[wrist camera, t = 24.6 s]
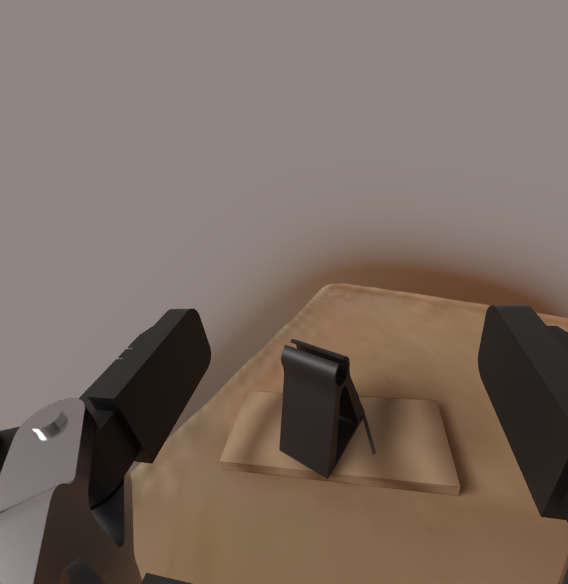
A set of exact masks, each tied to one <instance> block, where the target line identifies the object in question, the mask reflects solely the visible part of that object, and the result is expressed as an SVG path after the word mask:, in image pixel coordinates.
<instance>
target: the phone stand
mask: <svg viewBox="0 0 568 584" xmlns="http://www.w3.org/2000/svg"><path fill="white" fill-rule="evenodd" d="M291 343H294V344H296V345H297V349H296V348H293V347H290V346H287V345H285V347H284V349H283V352H282V356H281V362H282V365H283V368H284V386H283V401H282V416H281V431H280V445H279V450H280V451H281V452H283V453H285V454H286V455H288V456H290V457H291V458H293V459H295V460H296V461H298V462H300V463H301V464H303V465H305V466H306V467H308V468H310V469H311V470H313V471H315V472H316V473H318V474H320V475H321V476H323V477H325V478H326V479H328V478H329V477H330V475H331V473H332V472H333V470H334V468H335V466H336V465H337V463H338V461H339V459H340V458H341V456H342V454H343V452H344V451H345V449H346V447H347V444H349V442H350V440H351V439H352V437H353V435H354V433H355V432H356V430H357V428H358V426H359V425H360V423H361V421H362V419H363V418H364V415H365V411H364V409H363V406H362V404H361V402H360V399H359V397H358V394H357V392H356V389H355V387H354V384H353V382H352V379H351V377H350V371H349V365H350V363H349V358H348V357H346V356H343V355H340V354H337V353H334V352H331V351H328V350H325V349H322V348H319V347H316V346H313V345H310V344H307V343H304V342H301V341H298V340H295V339H291Z"/></svg>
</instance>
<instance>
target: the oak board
mask: <svg viewBox="0 0 568 584" xmlns="http://www.w3.org/2000/svg"><path fill="white" fill-rule="evenodd" d="M359 399H360V402H361V404H362V406H363V409H364V411H365V415H364V418H363V419H362V421H361V423H360V425H359V426H358V428H357V430H356V432H355V433H354V435H353V437H352V439H351V440H350V442H349V444H347V447H346V449H345V451H344V452H343V454H342V456H341V458H340V459H339V461H338V463H337V465H336V466H335V468H334V470H333V472H332V473H331V475H330V477H329V478H328V479H326V478H325V477H323V476H321V475H320V474H318V473H316V472H315V471H313V470H311V469H310V468H308V467H306V466H305V465H303V464H301V463H300V462H298V461H296V460H295V459H293V458H291V457H290V456H288V455H286V454H285V453H283V452H281V451H280V450H279V445H280V431H281V416H282V401H283V393H268V392H247V391H246V394H245V396H244V399H243V401H242V404H241V407H240V409H239V412H238V414H237V417H236V420H235V422H234V425H233V428H232V430H231V433H230V435H229V438H228V441H227V443H226V446H225V448H224V451H223V454H222V456H221V459H220V463H221V466H222V468H223V469H225V470H234V471H243V472H252V473H261V474H270V475H279V476H288V477H297V478H305V479H314V480H323V481H332V482H341V483H350V484H359V485H368V486H377V487H385V488H394V489H403V490H412V491H421V492H430V493H439V494H448V495H457V496H459V491H460V483H459V479H458V476H457V472H456V469H455V465H454V461H453V458H452V454H451V450H450V447H449V443H448V439H447V436H446V432H445V428H444V425H443V421H442V418H441V414H440V410H439V407H438V403H437V401H436V400H415V399H394V398H373V397H359Z"/></svg>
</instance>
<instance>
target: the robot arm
mask: <svg viewBox="0 0 568 584" xmlns="http://www.w3.org/2000/svg"><path fill="white" fill-rule="evenodd" d="M210 359H211V349H210V345H209V343H208V340H207V337H206V334H205V331H204V328H203V325H202V322H201V319H200V316H199V314H198V312H197V311H196V310H195V309H170V310H168V311H167V312H166V313H165V314H164V315H163V316H162V317H161V319H160V320H159V321H158V322H157V323H156V324H155V325H154V326H153V327H151V328H150V329H148V330H146V331H145V332H143V333H142V334H140V335H139V336H138V337H137V338H136V339H135V340H134V341H133V342H132V343H131V345H130V346H129V347H128V349H126V350H125V351H124V352H123V353H122V354H121V355H120V356H119V359H118V360H117V359H116V360H115V361H114V362H113V363H112V364H111V365H110V367H108V369H107V370H106V371H105V372H104V373H103V374H102V375H101V376H100V377H99V378H98V379H97V380H96V381H95V382H94V383H93V384H92V385H91V386H90V387H89V388H88V390H86V391H85V393H84V394H83V395H82V396H81V397H80V398H79V399H76V398H67V399H63V400H60V401H57V402H54V403H52V404H50V405H48V406H46V407H44V408H42V409H41V410H39V411H38V412H36V413H35V414H33V415H32V416H31V417H30V418H29V419H28V420H26V421H25V422H24V423H23V425H22V426H21V427H17V428H12V429H7V430H2V431H0V584H191V583H187V582H183V581H179V580H174V579H170V578H166V577H162V576H157V575H153V574H149V573H146V575H145V577H144V579H143V581H142V579H141V576H140V572H139V570H138V567H137V564H136V561H135V556H134V547H133V508H132V478H131V474H130V472H129V471H128V470H129V468H130V466H131V465H132V463H133V462H134V461H136V462H144V463H153V461H154V460H155V458H156V456H157V455H158V453H159V451H160V449H161V448H162V446H163V444H164V442H165V441H166V439H167V437H168V436H169V434H170V432H171V430H172V429H173V427H174V425H175V424H176V422H177V420H178V418H179V417H180V415H181V413H182V412H183V410H184V408H185V406H186V405H187V403H188V401H189V399H190V398H191V396H192V394H193V393H194V391H195V389H196V387H197V386H198V384H199V382H200V380H201V379H202V377H203V375H204V374H205V372H206V370H207V369H208V366H209V364H210ZM478 367H479V373H480V376H481V379H482V382H483V384H484V386H485V389H486V391H487V393H488V396H489V398H490V400H491V402H492V405H493V407H494V409H495V412H496V414H497V416H498V419H499V421H500V423H501V426H502V428H503V430H504V432H505V435H506V437H507V439H508V442H509V444H510V446H511V449H512V451H513V453H514V456H515V458H516V460H517V463H518V465H519V467H520V469H521V472H522V474H523V476H524V479H525V481H526V483H527V486H528V488H529V490H530V493H531V495H532V497H533V499H534V502H535V504H536V506H537V509H538V511H539V513H540V516H541V517H548V518H556V519H563V520H567V522H568V332H566V331H564V330H563V329H561V328H559V327H557V326H546V325H545V323H544V322H543V321H542V320H541V319H540V317H539V316H538V315H537V314H536V313H535V311H534V310H533V309H532V308H531V307H530V306H528V305H491V306H489V308H488V309H487V312H486V316H485V322H484V327H483V332H482V337H481V343H480V348H479V353H478ZM558 584H568V556H567V559H566V562H565V565H564V567H563V570H562V573H561V576H560V579H559V582H558Z"/></svg>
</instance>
